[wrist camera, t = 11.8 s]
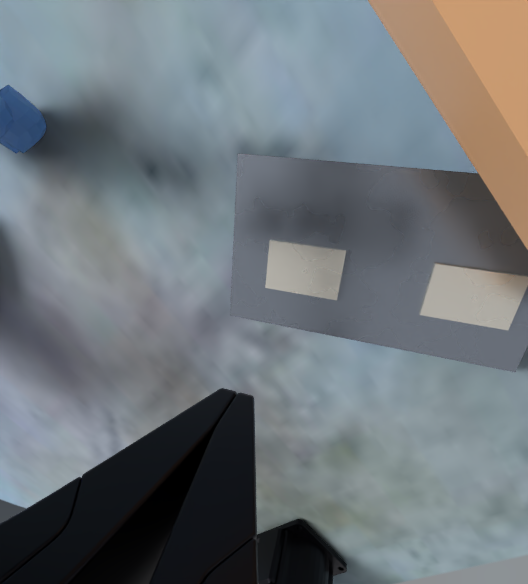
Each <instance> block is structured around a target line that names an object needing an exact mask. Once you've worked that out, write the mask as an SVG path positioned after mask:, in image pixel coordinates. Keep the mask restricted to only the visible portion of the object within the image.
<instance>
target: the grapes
mask: <svg viewBox="0 0 528 584" xmlns="http://www.w3.org/2000/svg"><path fill="white" fill-rule="evenodd" d="M46 127H47V126H46V122H45V119H44V117H43V115H42V114H41V112H40V111H39V110H38V109H37V108H36V107H35V106H34V105H33V104H32V103H30V102H29V101H28V100H27V99H26V98H25V97H24V96H23V95H21V94H20V93H19V92H17V91H16V90H15V89H13V88H12V87H11V86H9V85H7V86H5V87H4V88H2V89H1V90H0V143H1V144H2V145H4V146H5V147H7V148H8V149H10V150H12V151H13V152H15V153H17V152H19V151H21V152H22V153H24V152H26V151H27V150H28V149H30V148H31V147H32V146H34V145H35V144H36V143H37V142H38V141H39V140H40V139H41V138H42V136H43V135H44V134H45V130H46Z"/></svg>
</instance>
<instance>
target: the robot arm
mask: <svg viewBox="0 0 528 584" xmlns="http://www.w3.org/2000/svg"><path fill="white" fill-rule="evenodd" d="M346 571H347V564H346V563H345V562H344V561H343V560H342V559H341V558H340V557H339V556H338V555H337V554H336V553H335V552H334V551H333V550H332V549H331V548H330V547H329V546H328V545H327V544H326V543H325V542H324V541H323V540H322V539H321V538H320V537H319V536H318V535H317V534H316V533H315V532H314V531H313V530H312V529H311V528H310V527H309V526H308V525H307V524H306V523H305V522H304V521H302V520H300V519H297V520H294V521H291V522H289V523H286V524H284V525H281V526H279V527H276V528H273V529H271V530H268V531H266V532H263V533H261V534H258V535H257V516H256V465H255V414H254V397H253V396H252V395H248V394H244V393H238V394H237V393H236V392H235V391H232V390H228V389H224V388H222V389H219V390H217V391H216V392H214V393H213V394H211V395H209V396H208V397H206V398H205V399H203V400H201V401H200V402H198V403H197V404H195V405H193V406H192V407H190V408H189V409H187V410H185V411H184V412H182V413H181V414H179V415H177V416H176V417H174V418H173V419H171V420H169V421H168V422H166V423H165V424H163V425H161V426H160V427H158V428H157V429H155V430H153V431H152V432H150V433H149V434H147V435H145V436H144V437H142V438H141V439H139V440H137V441H136V442H134V443H133V444H131V445H129V446H128V447H126V448H125V449H123V450H121V451H120V452H118V453H117V454H115V455H113V456H112V457H110V458H109V459H107V460H105V461H104V462H102V463H101V464H99V465H97V466H96V467H94V468H93V469H91V470H89V471H88V472H86V473H85V474H83V476H82V478H81V477H78V478H76V479H75V480H73V481H71V482H70V483H68V484H67V485H65V486H63V487H62V488H60V489H59V490H57V491H55V492H54V493H52V494H50V495H49V496H47V497H45V498H44V499H42V500H40V501H39V502H37V503H35V504H34V505H32V506H30V507H29V508H27V509H25V510H24V511H22V512H20V513H19V514H16V515H15V516H13V517H11V518H9V519H8V520H6V521H4V522H2V523H0V584H333V575H337V574H341V573H344V572H346Z"/></svg>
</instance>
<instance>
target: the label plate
mask: <svg viewBox="0 0 528 584" xmlns="http://www.w3.org/2000/svg"><path fill="white" fill-rule="evenodd" d="M230 315H231V316H236V317H241V318H246V319H251V320H256V321H261V322H266V323H271V324H276V325H281V326H286V327H291V328H296V329H301V330H306V331H311V332H316V333H321V334H326V335H331V336H336V337H341V338H346V339H351V340H357V341H362V342H367V343H372V344H377V345H382V346H387V347H392V348H397V349H402V350H407V351H412V352H417V353H422V354H427V355H432V356H437V357H442V358H447V359H452V360H457V361H462V362H467V363H472V364H477V365H482V366H487V367H492V368H497V369H502V370H507V371H512V372H516V370H517V368H518V366H519V363H520V361H521V359H522V357H523V355H524V353H525V351H526V349H527V347H528V250H527V248H526V247H525V245H524V244H523V242H522V241H521V239H520V237H519V236H518V234H517V233H516V231H515V230H514V228H513V226H512V225H511V223H510V222H509V220H508V219H507V217H506V216H505V214H504V212H503V211H502V209H501V208H500V206H499V205H498V203H497V201H496V200H495V198H494V197H493V195H492V194H491V192H490V191H489V189H488V187H487V186H486V184H485V183H484V181H483V180H482V178H481V176H480V175H479V174H477V173H465V172H453V171H441V170H429V169H417V168H405V167H393V166H381V165H369V164H357V163H345V162H333V161H321V160H309V159H298V158H286V157H274V156H262V155H250V154H238V159H237V180H236V201H235V223H234V244H233V265H232V286H231V308H230Z"/></svg>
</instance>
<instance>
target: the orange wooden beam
mask: <svg viewBox="0 0 528 584" xmlns="http://www.w3.org/2000/svg"><path fill="white" fill-rule="evenodd" d="M368 2H369V3H370V5H371V6H372V8H373V9H374V11H375V12H376V14H377V16H378V17H379V19H380V20H381V22H382V23H383V25H384V27H385V28H386V30H387V31H388V33H389V34H390V36H391V37H392V39H393V41H394V42H395V44H396V45H397V47H398V48H399V50H400V52H401V53H402V55H403V56H404V58H405V59H406V61H407V62H408V64H409V66H410V67H411V69H412V70H413V72H414V73H415V75H416V77H417V78H418V80H419V81H420V83H421V84H422V86H423V87H424V89H425V91H426V92H427V94H428V95H429V97H430V98H431V100H432V101H433V103H434V105H435V106H436V108H437V109H438V111H439V112H440V114H441V116H442V117H443V119H444V120H445V122H446V123H447V125H448V126H449V128H450V130H451V131H452V133H453V134H454V136H455V137H456V139H457V141H458V142H459V144H460V145H461V147H462V148H463V150H464V151H465V153H466V155H467V156H468V158H469V159H470V161H471V162H472V164H473V166H474V167H475V169H476V170H477V172H478V173H479V175H480V176H481V178H482V180H483V181H484V183H485V184H486V186H487V187H488V189H489V191H490V192H491V194H492V195H493V197H494V198H495V200H496V201H497V203H498V205H499V206H500V208H501V209H502V211H503V212H504V214H505V216H506V217H507V219H508V220H509V222H510V223H511V225H512V226H513V228H514V230H515V231H516V233H517V234H518V236H519V237H520V239H521V241H522V242H523V244H524V245H525V247H526V248H527V250H528V0H368Z"/></svg>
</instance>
